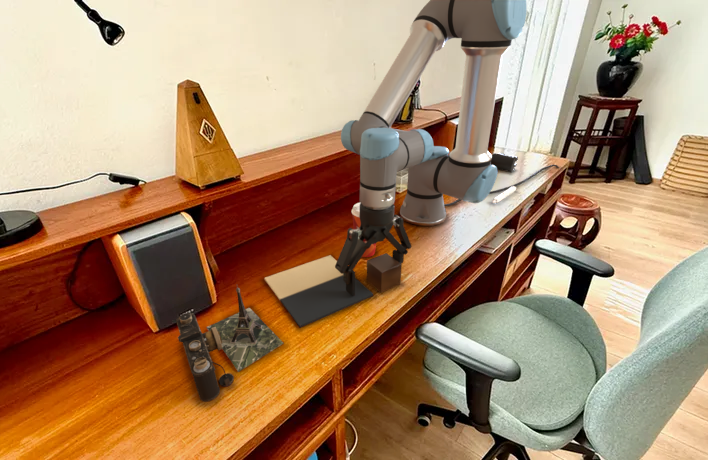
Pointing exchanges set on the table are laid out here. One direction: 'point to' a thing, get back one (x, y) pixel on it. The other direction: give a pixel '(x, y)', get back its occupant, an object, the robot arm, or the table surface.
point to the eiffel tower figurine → (245, 336)
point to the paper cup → (356, 225)
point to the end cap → (504, 162)
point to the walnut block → (383, 272)
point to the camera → (202, 356)
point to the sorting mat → (314, 290)
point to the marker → (504, 194)
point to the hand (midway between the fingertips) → (374, 283)
